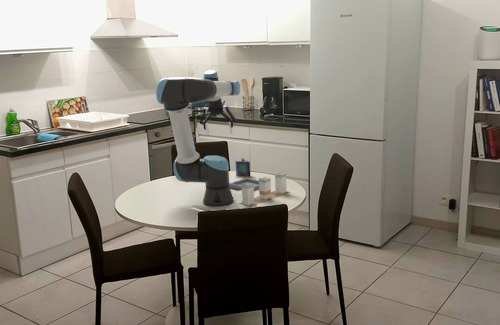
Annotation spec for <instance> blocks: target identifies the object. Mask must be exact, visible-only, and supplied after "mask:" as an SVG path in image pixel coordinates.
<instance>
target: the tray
mask: <svg viewBox="0 0 500 325" xmlns="http://www.w3.org/2000/svg"><path fill="white" fill-rule="evenodd" d="M247 182H249V183H253V184H254V191H256V190H259V179H253V178H249V177H245V178H242V179H238V180H236V181H232V182H229V187H230V189H232V190H236V191H242V184H244V183H247Z"/></svg>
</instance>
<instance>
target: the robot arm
mask: <svg viewBox="0 0 500 325" xmlns="http://www.w3.org/2000/svg"><path fill="white" fill-rule="evenodd" d="M155 93H156V100H157V103H159V104H161V105H163V108H164V110H165V111H167V112H168V116H169V119H170V120H169V121H170V124H171V129H172V133H173V138H174V142H175V147H176V151H177V156H176V157H175V160H174V161H173V174H174V176H175V179H176V180H177V181H179V182H182V183H183V182H184V183H205V191H204V195H203V198H202V204H203V205H204V206H207V207H213V208H217V207H218V208H220V207H226V206H229V205H230V206H231V205H232V204H233V203H234V202H235V200H234V196H233V194H232V191H231V188H230V187H229V183H230V173H229V172H230V171H229V170H230V167H229V161H228V160H227V158H226V157H224V156H222V155H221V156H220V155H213V154H212V155H206V156H204V157H203V158H201V155H200V153H199V152H197V151H196V146H195V143H194V137H193V136H194V135H193V130H192V126H191V123H190V116H189V112H188V107H189V106H190V104H197V103H202V102H206V101H207V105H208V107H206V106H204V107H203V112H202V115H201V117H200V121H199V124H200V125H203V130H204V131H205V133H206V136H209V127H208V121H209V119H210V118H211V117H212V116H216V115H217V116H219V115H221V116H222V117H223V118H225V119H226V121H229V122H228V125H229V131H230V134H233V129H232V128H233V127H234V122H235V121H236V117H235V116H234V114H233V113H232V112H231V110H230V108H229V105H228V104H226V105H223V102H222V98H221V97H228V96H232V97H234V96H238V95H240V93H241V84H240V82H239V81H238V80H219V75H218V72H217V71H216V70H207V71H204V73H203V78H200V77H195V76H194V77H192V76H191V77H190V76H189V77H187V76H186V77H170V76H169V77H163V78H162V79H160V80H159V81H158V84H157V86H156V92H155ZM225 111H226V112H225ZM207 112H209V114H208V115H207V116H206V113H207ZM205 116H206V118H205ZM204 118H205V119H204Z"/></svg>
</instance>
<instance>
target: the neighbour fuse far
mask: <svg viewBox="0 0 500 325" xmlns="http://www.w3.org/2000/svg"><path fill="white" fill-rule="evenodd" d="M274 180H275V181H274V182H275V185H274V187H275V191H276V193H280V194H283V193H285V192H288V191H287V172H280V171H279V172H277V173H274Z"/></svg>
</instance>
